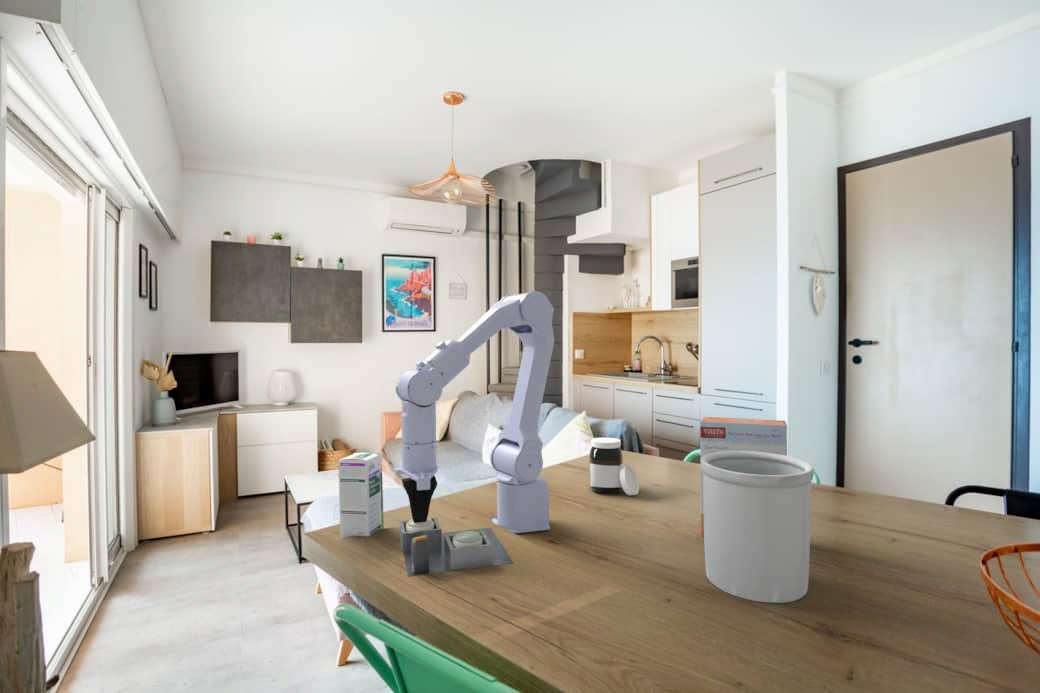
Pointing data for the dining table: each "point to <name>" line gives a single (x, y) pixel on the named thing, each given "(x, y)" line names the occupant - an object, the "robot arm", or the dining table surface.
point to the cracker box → (740, 439)
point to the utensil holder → (757, 524)
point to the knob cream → (419, 525)
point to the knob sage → (467, 539)
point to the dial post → (420, 554)
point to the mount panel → (453, 550)
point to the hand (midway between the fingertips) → (419, 521)
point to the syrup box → (360, 494)
